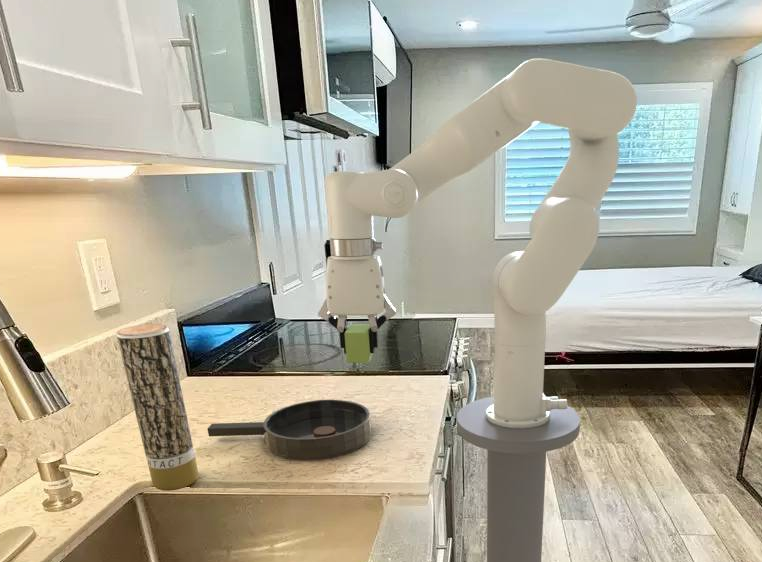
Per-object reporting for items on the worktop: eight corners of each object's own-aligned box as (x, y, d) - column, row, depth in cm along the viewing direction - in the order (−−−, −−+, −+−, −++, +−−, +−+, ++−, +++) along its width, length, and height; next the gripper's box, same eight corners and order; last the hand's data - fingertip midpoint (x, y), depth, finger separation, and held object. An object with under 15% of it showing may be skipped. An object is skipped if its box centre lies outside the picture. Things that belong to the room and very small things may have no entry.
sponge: (373, 352, 109) (371, 323, 107) (369, 362, 102) (367, 332, 100) (352, 352, 109) (350, 324, 107) (346, 363, 102) (344, 333, 100)
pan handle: (269, 429, 107) (267, 421, 106) (265, 434, 105) (264, 426, 104) (213, 431, 107) (211, 423, 106) (208, 436, 105) (207, 428, 104)
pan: (375, 416, 116) (374, 398, 114) (365, 458, 98) (363, 437, 96) (281, 419, 115) (278, 401, 114) (253, 462, 98) (249, 441, 96)
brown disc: (337, 430, 108) (336, 425, 108) (333, 439, 105) (333, 434, 104) (316, 431, 108) (315, 426, 108) (312, 439, 105) (311, 434, 104)
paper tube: (166, 472, 95) (132, 324, 86) (206, 472, 94) (176, 323, 85) (144, 492, 88) (105, 335, 79) (187, 492, 88) (153, 334, 79)
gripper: (402, 246, 102) (406, 345, 108) (308, 247, 102) (318, 347, 108) (399, 250, 95) (404, 356, 102) (299, 252, 95) (310, 358, 101)
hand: (360, 350), depth 105 cm, fingers closed on sponge, 4 cm apart
